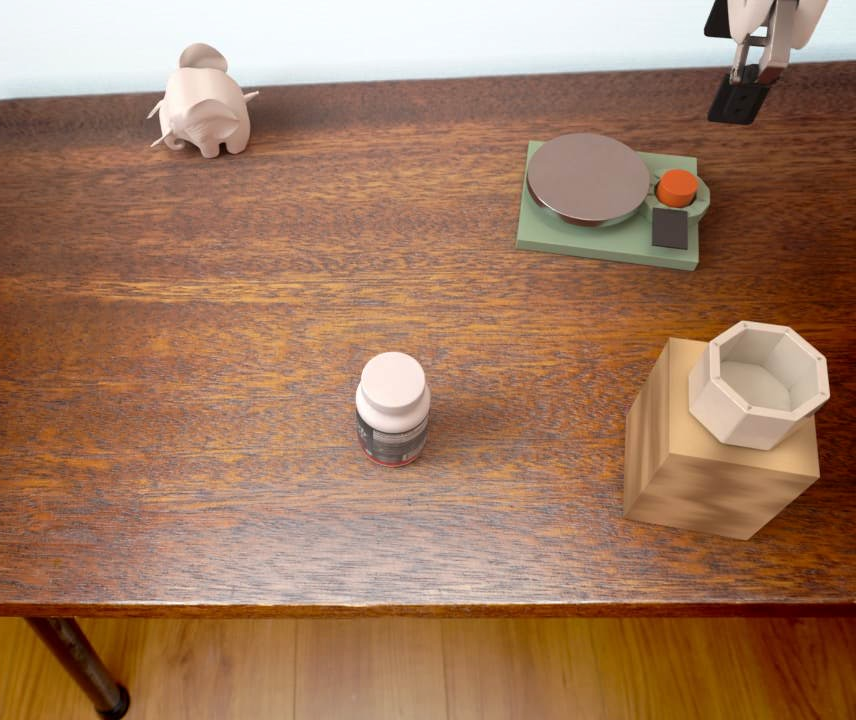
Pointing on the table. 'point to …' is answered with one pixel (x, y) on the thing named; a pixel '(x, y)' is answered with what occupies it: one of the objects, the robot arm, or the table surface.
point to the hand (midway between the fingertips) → (725, 76)
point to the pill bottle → (392, 409)
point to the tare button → (677, 188)
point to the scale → (625, 237)
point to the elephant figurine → (203, 104)
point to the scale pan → (598, 186)
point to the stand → (704, 460)
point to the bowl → (757, 384)
